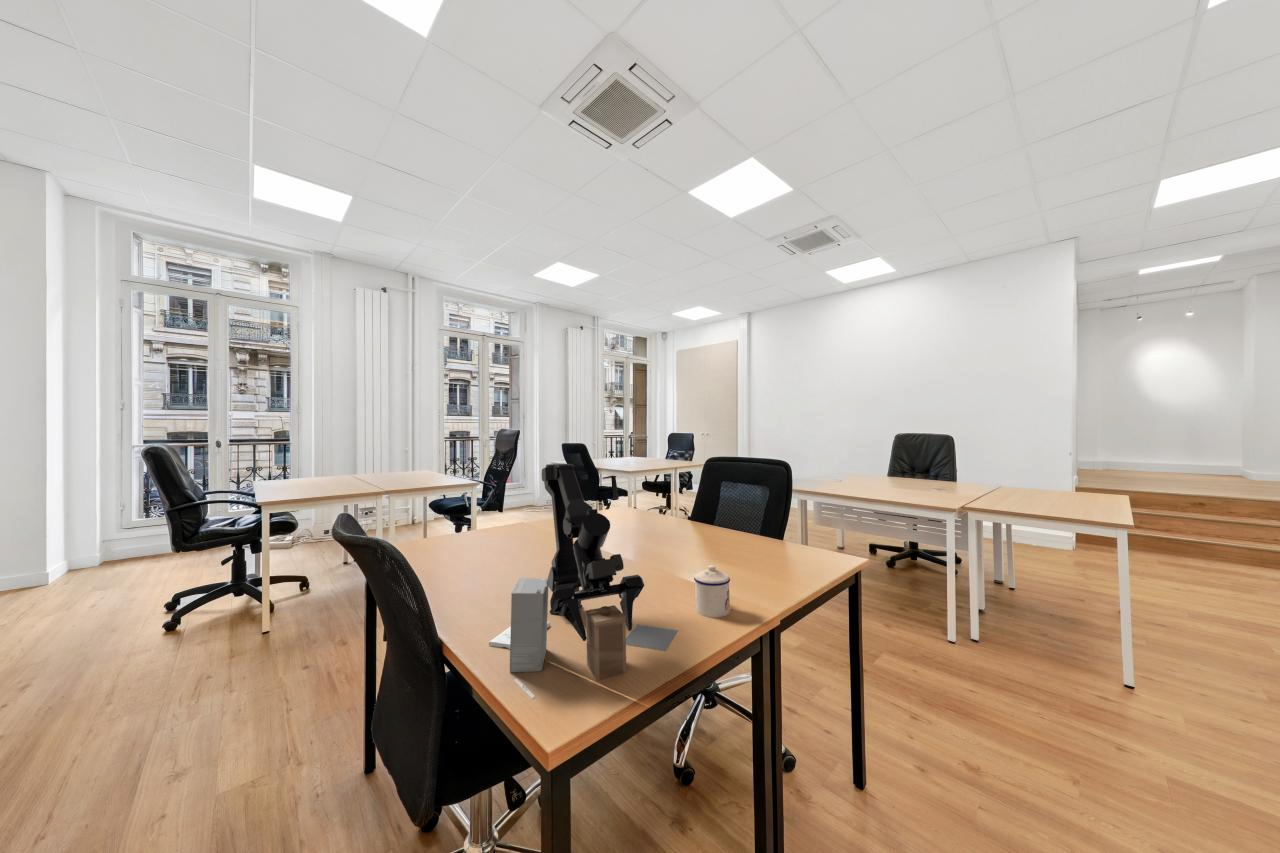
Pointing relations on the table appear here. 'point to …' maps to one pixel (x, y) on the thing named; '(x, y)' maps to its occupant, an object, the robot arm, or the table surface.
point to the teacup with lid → (712, 593)
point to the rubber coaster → (651, 637)
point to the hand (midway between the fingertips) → (608, 635)
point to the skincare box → (528, 624)
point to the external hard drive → (504, 638)
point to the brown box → (606, 641)
